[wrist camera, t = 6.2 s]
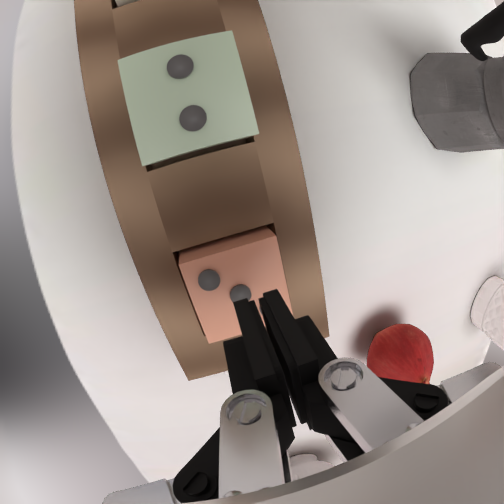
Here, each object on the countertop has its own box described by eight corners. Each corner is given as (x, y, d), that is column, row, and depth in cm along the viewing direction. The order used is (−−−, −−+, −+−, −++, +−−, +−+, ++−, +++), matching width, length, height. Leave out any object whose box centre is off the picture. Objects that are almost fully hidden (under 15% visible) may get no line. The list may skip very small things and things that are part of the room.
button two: (131, 77, 12) (116, 58, 9) (223, 53, 13) (232, 28, 9) (152, 164, 14) (141, 166, 11) (245, 138, 14) (260, 133, 11)
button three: (180, 245, 17) (178, 266, 14) (261, 221, 17) (277, 236, 14) (205, 315, 19) (209, 345, 16) (278, 292, 19) (294, 319, 16)
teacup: (319, 415, 27) (357, 488, 17) (346, 457, 32) (374, 508, 23) (220, 458, 26) (235, 532, 17) (271, 490, 32) (289, 543, 22)
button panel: (85, -39, 9) (74, -58, 6) (215, -72, 10) (220, -94, 8) (187, 354, 21) (188, 380, 18) (313, 314, 22) (329, 336, 19)
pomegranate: (411, 309, 24) (466, 354, 17) (387, 358, 26) (432, 409, 18) (366, 305, 23) (424, 361, 15) (342, 361, 24) (385, 422, 17)
